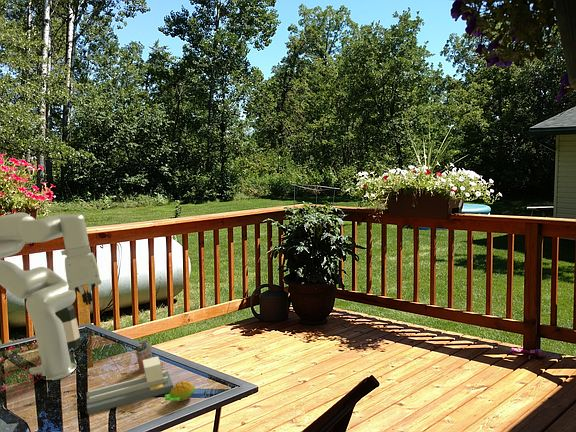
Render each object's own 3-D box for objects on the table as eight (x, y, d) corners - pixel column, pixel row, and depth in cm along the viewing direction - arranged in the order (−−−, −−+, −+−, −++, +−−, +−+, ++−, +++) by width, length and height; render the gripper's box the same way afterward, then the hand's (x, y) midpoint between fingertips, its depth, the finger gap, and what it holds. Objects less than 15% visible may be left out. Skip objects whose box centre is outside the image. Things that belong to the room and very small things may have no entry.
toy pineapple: (200, 395, 169) (198, 378, 168) (177, 411, 161) (174, 394, 160) (185, 391, 173) (182, 375, 172) (161, 406, 165) (158, 390, 164)
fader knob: (148, 387, 173) (144, 368, 172) (145, 378, 180) (142, 360, 179) (164, 383, 175) (160, 364, 174) (161, 374, 182) (158, 356, 180)
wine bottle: (64, 346, 227) (50, 276, 222) (84, 343, 227) (71, 273, 223) (57, 354, 219) (43, 281, 214) (79, 350, 219) (64, 278, 214)
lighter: (146, 373, 190) (141, 345, 188) (137, 373, 191) (132, 346, 189) (156, 362, 198) (151, 336, 196) (147, 363, 199) (142, 337, 197)
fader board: (88, 414, 165) (86, 403, 165) (87, 397, 177) (85, 387, 176) (174, 390, 174) (172, 380, 173) (168, 376, 185) (167, 366, 184)
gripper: (53, 257, 177) (64, 311, 180) (102, 249, 182) (111, 301, 185) (55, 253, 184) (65, 305, 187) (101, 245, 189) (110, 296, 192)
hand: (88, 303), depth 186 cm, fingers closed
